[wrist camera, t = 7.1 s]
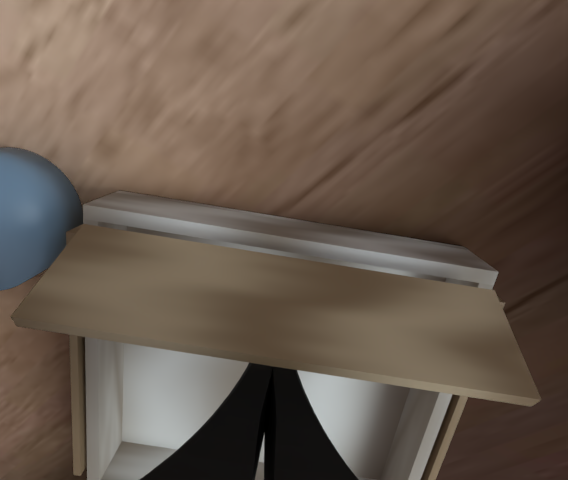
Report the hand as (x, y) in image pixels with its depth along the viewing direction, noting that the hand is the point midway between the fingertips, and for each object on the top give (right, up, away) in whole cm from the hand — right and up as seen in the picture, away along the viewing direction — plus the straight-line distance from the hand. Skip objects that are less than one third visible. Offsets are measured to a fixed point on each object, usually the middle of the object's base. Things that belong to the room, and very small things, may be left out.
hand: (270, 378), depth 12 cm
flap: (+1, +4, -1) cm, 4 cm away
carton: (0, -1, +4) cm, 4 cm away
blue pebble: (-10, +6, +3) cm, 12 cm away
